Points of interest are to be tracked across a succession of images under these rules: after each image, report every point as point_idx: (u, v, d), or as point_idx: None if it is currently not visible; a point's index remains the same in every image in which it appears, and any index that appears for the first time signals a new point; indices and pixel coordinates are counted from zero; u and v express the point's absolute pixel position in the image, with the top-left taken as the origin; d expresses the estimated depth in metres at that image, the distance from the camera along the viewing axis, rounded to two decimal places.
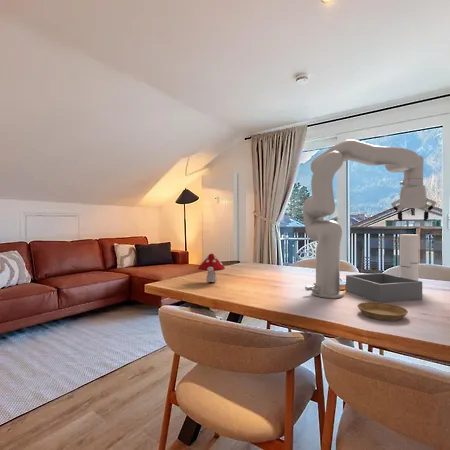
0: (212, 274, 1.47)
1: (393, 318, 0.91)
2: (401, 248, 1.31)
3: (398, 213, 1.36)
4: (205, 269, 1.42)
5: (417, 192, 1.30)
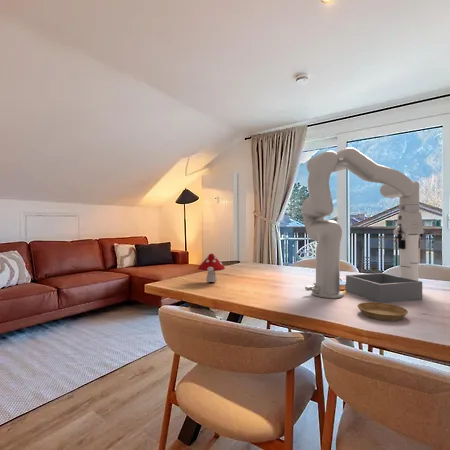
0: (212, 274, 1.47)
1: (393, 318, 0.91)
2: None
3: (402, 241, 1.29)
4: (205, 269, 1.42)
5: (418, 219, 1.29)
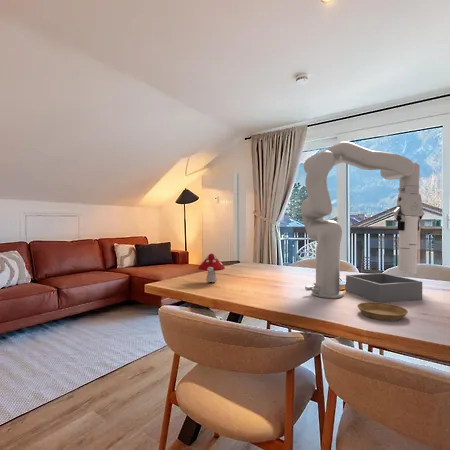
0: (212, 274, 1.47)
1: (393, 318, 0.91)
2: (400, 230, 1.31)
3: (401, 222, 1.29)
4: (205, 269, 1.42)
5: (418, 200, 1.29)
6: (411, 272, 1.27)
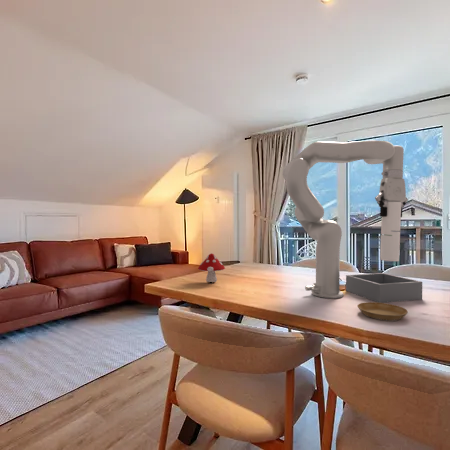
0: (212, 274, 1.47)
1: (393, 318, 0.91)
2: None
3: (383, 208, 1.23)
4: (205, 269, 1.42)
5: (401, 185, 1.23)
6: (393, 260, 1.22)
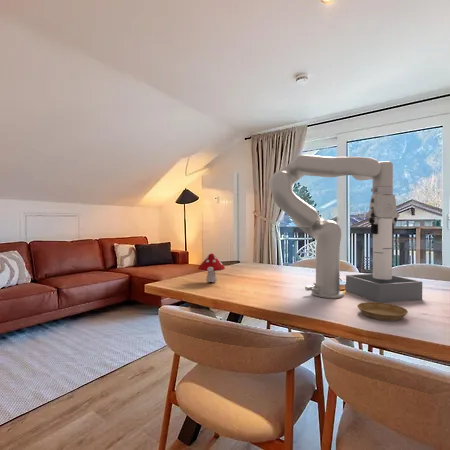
0: (212, 274, 1.47)
1: (393, 318, 0.91)
2: None
3: (374, 225, 1.21)
4: (205, 269, 1.42)
5: (391, 201, 1.20)
6: (386, 278, 1.19)
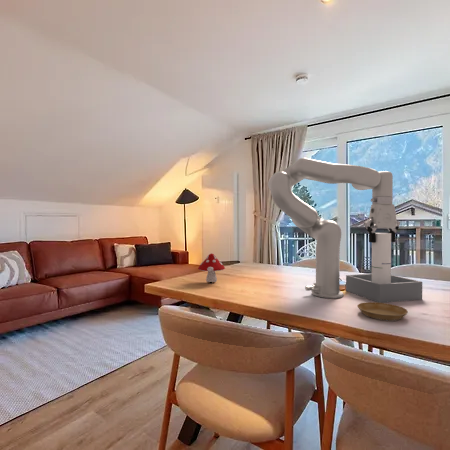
0: (212, 274, 1.47)
1: (393, 318, 0.91)
2: (373, 248, 1.23)
3: (372, 234, 1.21)
4: (205, 269, 1.42)
5: (391, 212, 1.20)
6: None
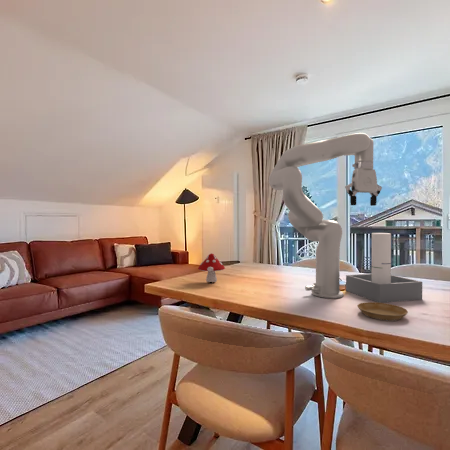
0: (212, 274, 1.47)
1: (393, 318, 0.91)
2: (373, 248, 1.23)
3: (353, 197, 1.28)
4: (205, 269, 1.42)
5: (372, 176, 1.27)
6: None
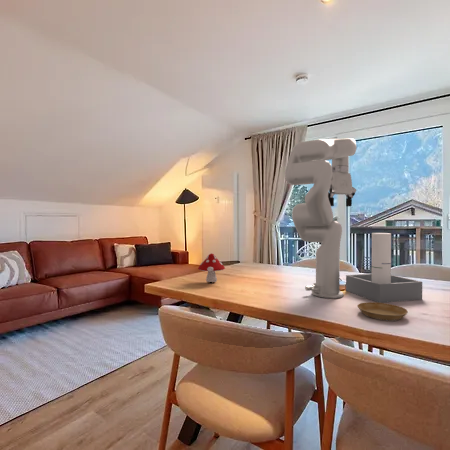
0: (212, 274, 1.47)
1: (393, 318, 0.91)
2: (373, 248, 1.23)
3: (330, 198, 1.38)
4: (205, 269, 1.42)
5: (347, 179, 1.38)
6: None
